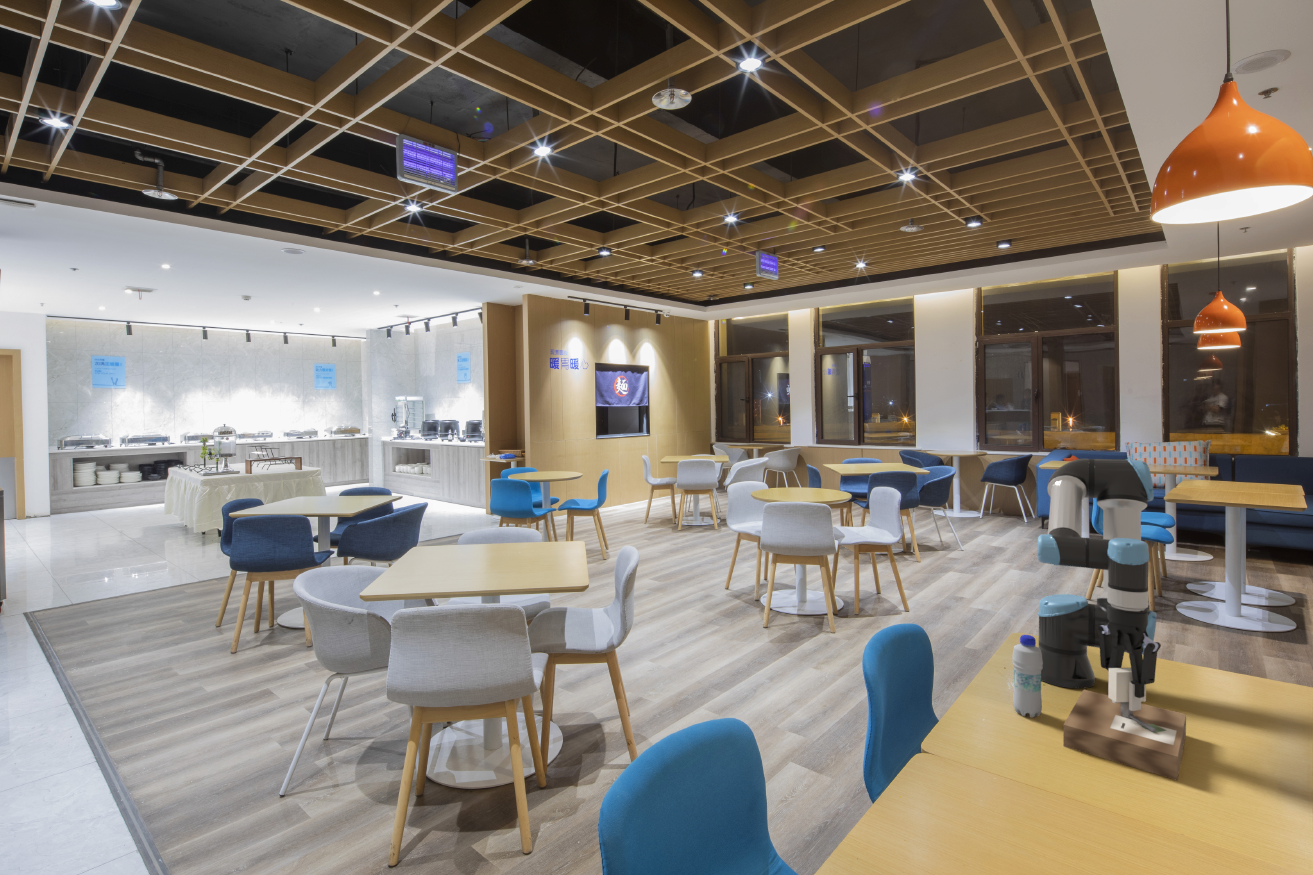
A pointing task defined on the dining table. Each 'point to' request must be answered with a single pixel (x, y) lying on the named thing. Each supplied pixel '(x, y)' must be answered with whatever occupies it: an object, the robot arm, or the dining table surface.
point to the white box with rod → (1123, 692)
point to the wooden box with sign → (1127, 734)
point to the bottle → (1027, 677)
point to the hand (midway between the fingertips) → (1126, 705)
